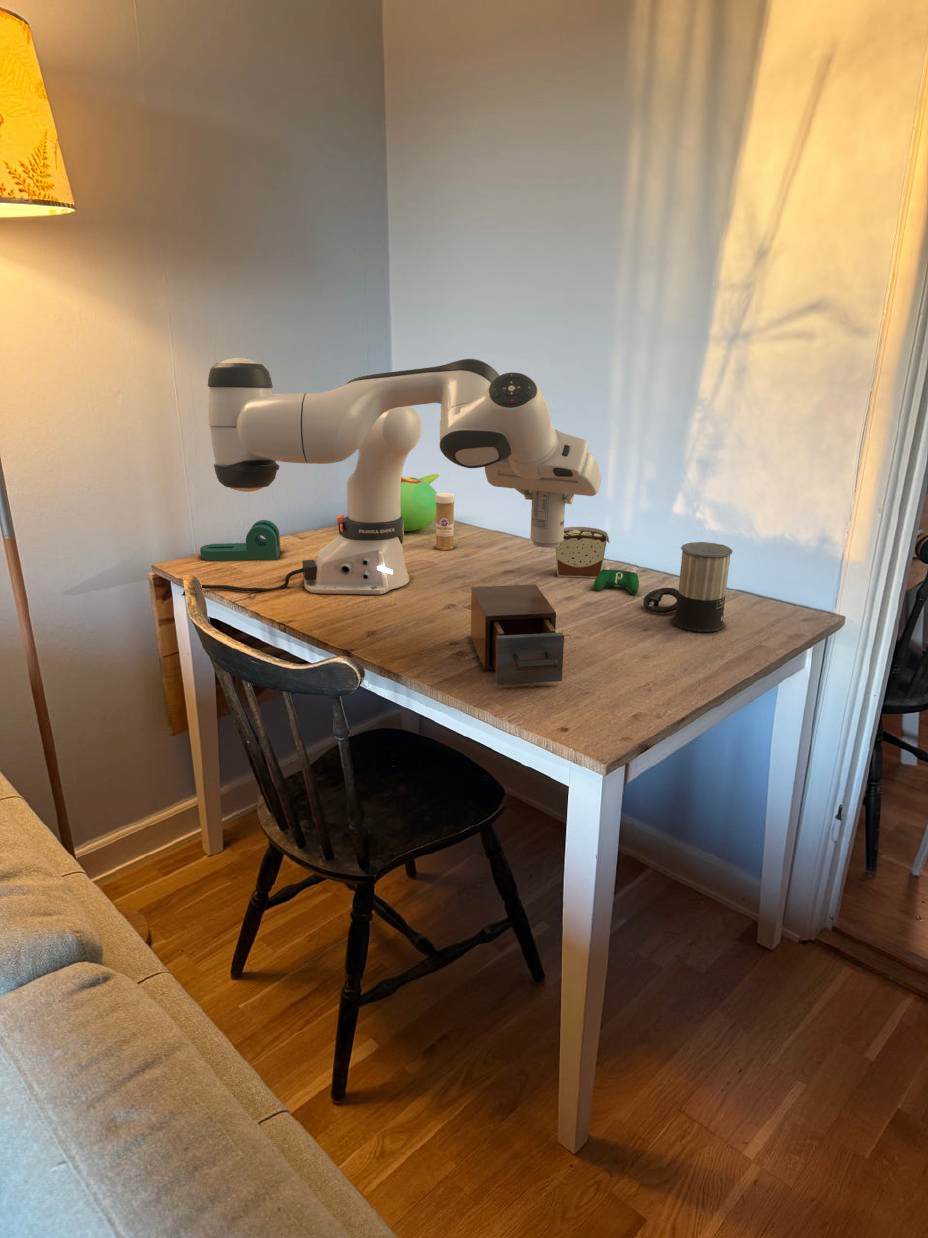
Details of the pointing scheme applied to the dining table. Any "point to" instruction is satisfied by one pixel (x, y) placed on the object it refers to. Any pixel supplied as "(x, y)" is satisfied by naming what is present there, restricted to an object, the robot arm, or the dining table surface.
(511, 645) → the drawer
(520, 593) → the cabinet
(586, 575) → the food container
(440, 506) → the sprinkles bottle
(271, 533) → the bracket
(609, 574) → the gaming controller
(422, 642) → the dining table surface
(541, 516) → the energy drink can
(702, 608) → the milk frother
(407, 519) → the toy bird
